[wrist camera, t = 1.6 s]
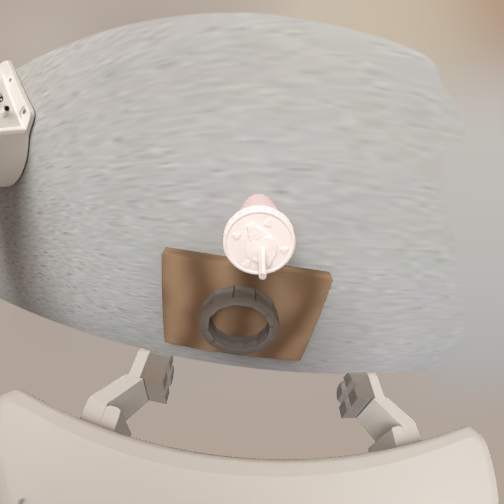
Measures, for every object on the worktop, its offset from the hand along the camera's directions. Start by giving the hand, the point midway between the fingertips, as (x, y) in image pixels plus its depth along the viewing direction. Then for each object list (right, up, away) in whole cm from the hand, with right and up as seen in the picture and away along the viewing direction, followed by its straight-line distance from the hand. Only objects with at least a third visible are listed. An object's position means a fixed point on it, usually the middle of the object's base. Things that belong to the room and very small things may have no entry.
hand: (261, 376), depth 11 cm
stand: (-2, -3, +27) cm, 28 cm away
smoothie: (0, +11, +21) cm, 24 cm away
